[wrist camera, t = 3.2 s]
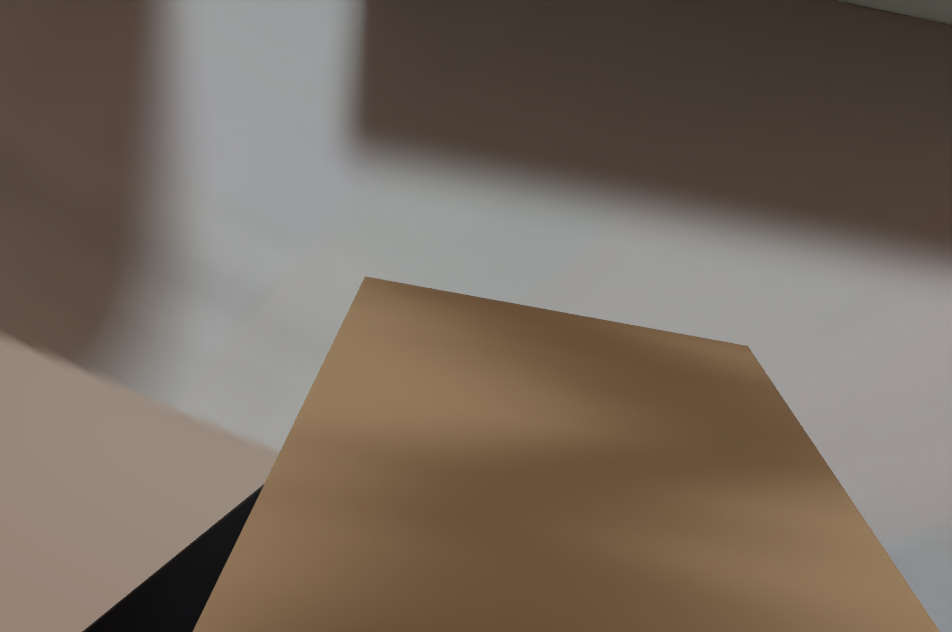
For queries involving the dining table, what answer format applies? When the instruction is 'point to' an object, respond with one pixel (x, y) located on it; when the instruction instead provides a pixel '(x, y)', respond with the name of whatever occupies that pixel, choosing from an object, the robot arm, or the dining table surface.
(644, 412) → the cube
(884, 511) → the dining table surface
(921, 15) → the tray
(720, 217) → the dining table surface
